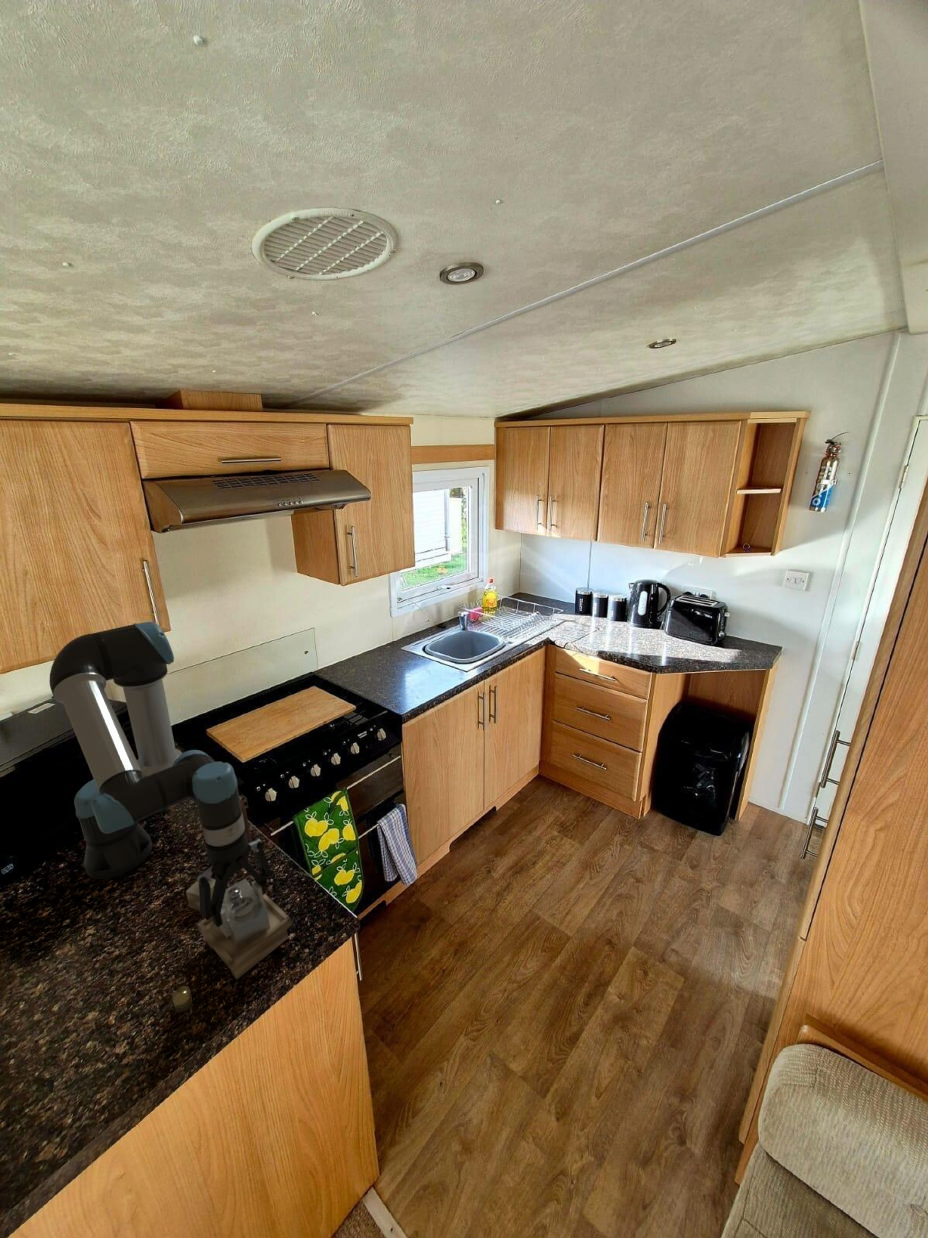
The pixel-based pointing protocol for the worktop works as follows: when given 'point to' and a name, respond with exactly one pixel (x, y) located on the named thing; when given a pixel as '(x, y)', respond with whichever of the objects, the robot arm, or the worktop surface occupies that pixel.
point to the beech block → (197, 894)
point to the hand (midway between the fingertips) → (243, 919)
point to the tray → (254, 949)
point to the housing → (244, 913)
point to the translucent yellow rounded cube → (182, 999)
